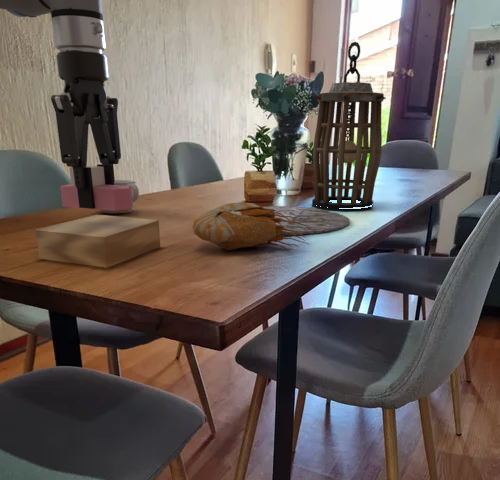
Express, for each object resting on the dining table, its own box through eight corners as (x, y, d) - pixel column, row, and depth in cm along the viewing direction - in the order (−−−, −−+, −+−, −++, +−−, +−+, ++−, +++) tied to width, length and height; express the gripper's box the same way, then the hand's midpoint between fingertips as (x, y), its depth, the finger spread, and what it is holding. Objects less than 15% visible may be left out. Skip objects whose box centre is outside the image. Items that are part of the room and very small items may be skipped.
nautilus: (316, 247, 98) (293, 271, 85) (216, 231, 105) (180, 250, 92) (321, 206, 94) (297, 224, 82) (216, 192, 101) (179, 207, 89)
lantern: (387, 205, 144) (405, 43, 128) (363, 215, 129) (379, 33, 113) (324, 199, 153) (334, 48, 138) (295, 207, 138) (302, 39, 122)
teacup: (86, 212, 130) (83, 179, 127) (124, 207, 137) (121, 176, 134) (113, 219, 120) (110, 184, 117) (152, 214, 127) (150, 181, 124)
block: (39, 258, 87) (35, 229, 85) (99, 240, 100) (96, 214, 98) (107, 268, 82) (103, 237, 80) (160, 246, 95) (158, 220, 93)
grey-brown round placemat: (368, 214, 128) (368, 213, 128) (317, 241, 100) (317, 239, 100) (251, 204, 143) (251, 202, 142) (178, 224, 114) (178, 223, 114)
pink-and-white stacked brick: (62, 206, 88) (57, 167, 85) (82, 202, 92) (77, 165, 89) (122, 211, 83) (119, 170, 81) (140, 207, 88) (137, 167, 85)
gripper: (59, 43, 70) (80, 215, 79) (135, 57, 85) (145, 199, 94) (17, 46, 72) (43, 211, 81) (98, 59, 88) (112, 197, 97)
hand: (98, 205), depth 88 cm, fingers closed on pink-and-white stacked brick, 5 cm apart
